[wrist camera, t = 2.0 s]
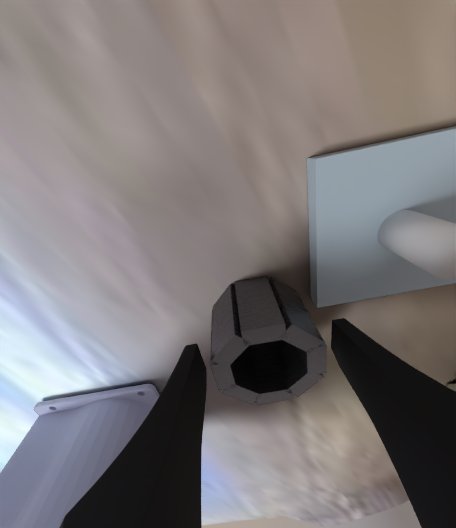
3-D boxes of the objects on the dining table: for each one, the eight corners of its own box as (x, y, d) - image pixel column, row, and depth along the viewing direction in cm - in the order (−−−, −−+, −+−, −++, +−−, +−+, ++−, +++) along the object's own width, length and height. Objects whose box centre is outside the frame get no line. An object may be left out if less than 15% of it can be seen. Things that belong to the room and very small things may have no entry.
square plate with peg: (310, 297, 14) (343, 349, 10) (307, 158, 10) (356, 161, 6) (443, 273, 13) (525, 318, 10) (489, 118, 10) (649, 99, 6)
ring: (223, 350, 15) (225, 409, 12) (205, 287, 13) (201, 338, 9) (300, 337, 15) (325, 393, 12) (296, 270, 13) (327, 316, 9)
